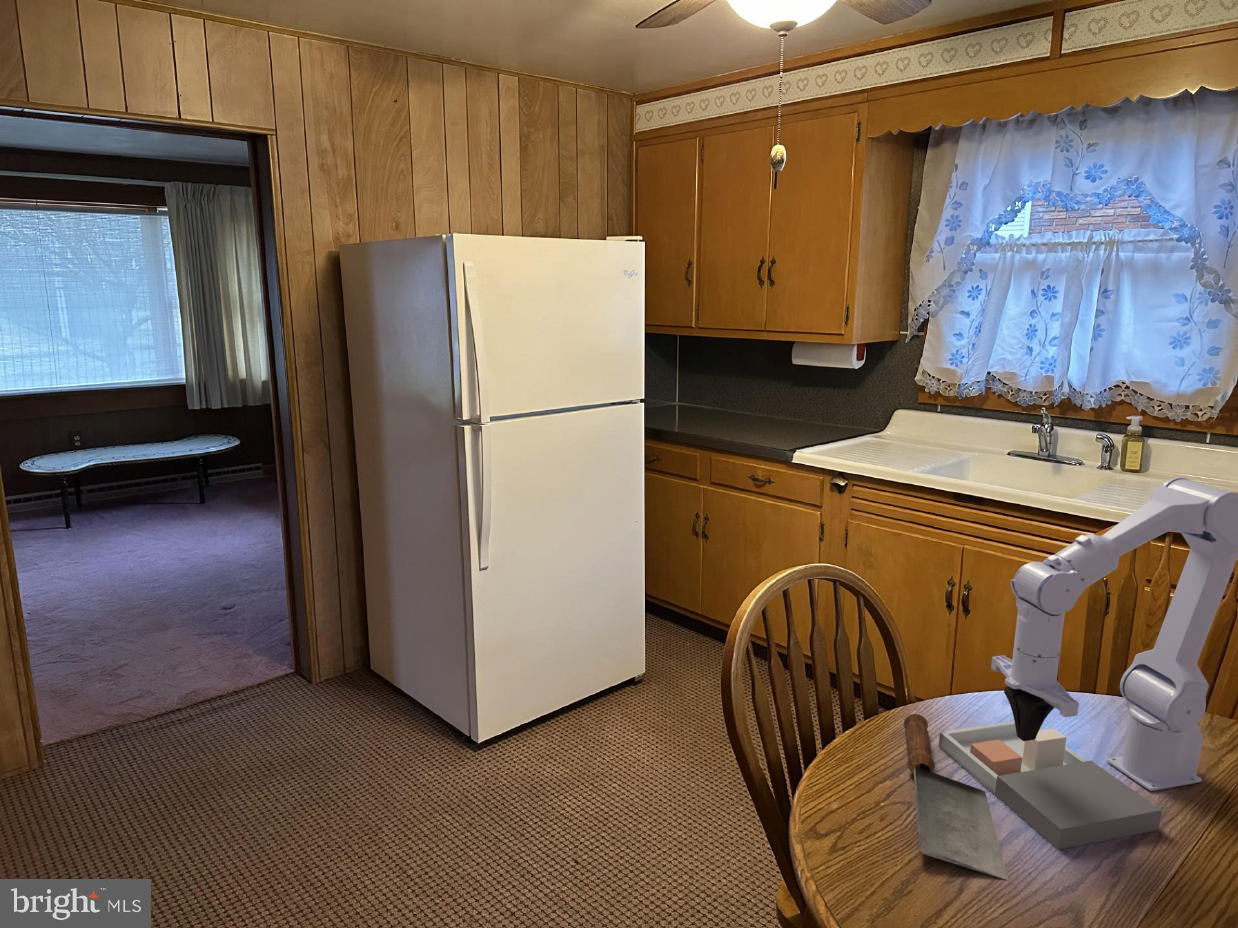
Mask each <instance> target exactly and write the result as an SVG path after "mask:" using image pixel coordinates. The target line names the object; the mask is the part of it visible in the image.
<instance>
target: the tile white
mask: <svg viewBox="0 0 1238 928" xmlns="http://www.w3.org/2000/svg"><path fill="white" fill-rule="evenodd" d="M1066 744H1067V736H1066V735H1064V734H1063V733H1061V732H1060V731H1058V730H1057V729H1056V728H1049V729H1042V730H1040V731H1039V732H1038V734H1037V736H1036V739H1035V740H1030V741H1025V744H1024V752H1023V760H1022V763H1023V764H1024V765H1026V766H1027V767H1028V768H1029V769H1031V770H1037V769H1043V768H1049V767H1055V766H1061V765H1063V760H1064V753H1065V746H1066Z"/></svg>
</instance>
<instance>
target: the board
mask: <svg viewBox="0 0 1238 928" xmlns="http://www.w3.org/2000/svg"><path fill="white" fill-rule="evenodd" d="M994 796H995V797H996V798H998V799H999V800H1000V801H1001V802H1002V803H1004V805H1006V806H1007V807H1008V808H1009V809H1010V810H1011V811H1013V813H1015V814H1016V815H1017V816H1018V817H1020V818H1021V819H1022V820H1023V821H1024V822H1026V823H1027V824H1028V825H1029V826H1030V827H1031V828H1032V829H1034V830H1035V831H1036V832H1037V833H1038V834H1040V835H1041V836H1042V837H1043V838H1044V839H1045V840H1046V841H1047V842H1049V843H1050V844H1051V845H1052V846H1053V847H1054V848H1055V849H1057V850H1063V849H1065V850H1066V849H1070V848H1073V847H1074V848H1075V847H1079V846H1084V845H1089V844H1094V843H1100V842H1105V841H1109V840H1115V839H1120V838H1125V837H1129V836H1135V835H1141V834H1145V833H1151V832H1156V831H1159V830H1160V825H1161V817H1162V812H1163V811H1162V809H1161V808H1160V807H1158V806H1157V805H1155V804H1154V803H1153V802H1151V801H1149V800H1148V799H1146V798H1145V797H1144V796H1142V795H1141V794H1140V793H1138V792H1137V791H1136V790H1134V789H1133V788H1131V787H1129V786H1128V785H1127V784H1126V783H1124V782H1122V781H1121V780H1120V779H1118V778H1117V777H1115V776H1114V775H1112V774H1111V773H1110V772H1108V771H1106V769H1104V768H1103V767H1101V766H1099V765H1098V764H1097V763H1095V762H1094V761H1092V760H1086V761H1085V762H1079V763H1073V764H1067V765H1061V766H1055V767H1049V768H1043V769H1037V770H1031V771H1025V772H1019V773H1013V774H1007V775H1001V776H997V781H996V790H995V795H994Z"/></svg>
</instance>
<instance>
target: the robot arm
mask: <svg viewBox="0 0 1238 928" xmlns="http://www.w3.org/2000/svg"><path fill="white" fill-rule="evenodd" d="M1167 532H1176V533H1180V534H1181V535H1182V537H1183V538H1184V541H1186V543H1187V545H1188V546H1189V548H1190V551H1189V553H1188V556H1187V559H1186V561H1185V564H1184V565H1183V569H1182V572H1181V574H1180V577H1179V580H1178V582H1177V585H1176V587H1175V588H1176V589H1174V590H1175V591H1174V593H1173V595H1172V598H1171V602H1170V603H1169V604H1170V605H1169V606H1168V609H1167V611H1166V614H1165V617H1164V619H1163V623H1162V625H1161V629H1159V630H1160V631H1159V633H1158V636H1157V639H1156V641H1155V644H1154V646H1153V648H1152V649H1149V650H1145V651H1143V652H1139V653H1137V654H1135V656H1134V659H1133V661H1132V663H1131V665H1130V666H1128V668H1127V669H1126V671H1124V673H1123V675H1122V676H1121V679H1120V683H1119V691H1120V694H1121V695H1122V697H1123V698H1124V699H1125V700H1126V706H1125V707H1126V708H1127V709H1128V710H1129V712H1128V717H1127V718H1128V719H1127V725H1126V730H1125V731H1126V732H1125V739H1124V745H1123V751H1122V755H1119V756H1113V757H1109V758H1107V759H1106V761H1107V763H1108V764H1110V765H1111V766H1112V767H1114V768H1116V769H1117V770H1118V771H1120V772H1121V773H1123V774H1125V775H1126V776H1127V777H1129V778H1130V779H1132V780H1133V781H1135V782H1136V783H1138V784H1139V785H1140V786H1142V787H1144V788H1145V789H1146V790H1148V791H1151V792H1153V791H1158V790H1159V791H1160V790H1164V789H1171V788H1176V787H1181V786H1187V785H1192V784H1199V783H1201V782H1202V779H1203V778H1202V777H1200V776H1199V775H1198V770H1199V764H1200V758H1201V753H1202V747H1203V741H1204V739H1203V734H1202V730H1201V728H1200V725H1199V723H1200V722H1201V721H1202V719H1204V716H1205V713H1206V709H1207V708H1206V707H1207V702H1206V699H1207V697H1206V696H1207V694H1208V690H1209V687H1210V684H1209V683H1208V681H1207V679H1206V678H1205V676H1204V674H1203V673H1202V671H1201V669H1200V667H1199V665H1198V662H1199V659H1200V657H1201V654H1202V651H1203V648H1204V647H1205V644H1206V641H1207V638H1208V636H1209V634H1210V630H1211V628H1212V626H1213V622H1214V621H1215V618H1216V615H1217V613H1218V610H1219V607H1220V604H1221V602H1222V599H1223V597H1224V594H1225V591H1226V589H1227V586H1228V584H1229V581H1230V578H1231V576H1232V573H1233V571H1234V568H1235V566H1236V563H1237V560H1238V492H1236V491H1230V490H1229V491H1228V490H1224V489H1221V488H1219V487H1214V486H1211V485H1207V484H1204V483H1200V482H1197V481H1193V480H1190V479H1188V478H1186V477H1182V476H1181V477H1180V476H1177V477H1173V478H1170V479H1168V480H1166V482H1164V483H1163V484H1162V485H1160V486H1158V487H1155V488H1154V489H1153V490H1152V493H1151V495H1150V499H1149V501H1148V502H1146V503H1145V504H1143V505H1142V506H1140V507H1139V508H1138V509H1137V510H1135V511H1134V512H1132V513H1131V514H1130V515H1128V516H1127V517H1126V518H1124V519H1122V520H1121V521H1120V522H1119V523H1117V524H1116V525H1115V526H1112V527H1111V528H1110V529H1109V530H1107V532H1105V533H1104V534H1102V535H1097V534H1092V533H1087V534H1086V535H1085V534H1080V535H1079V536H1077V537H1076V538H1075V539H1074V540H1075V541H1074V542H1072V543H1070V544H1069V545H1068V546H1066V547H1064V548H1062V549H1061V550H1059V551H1057V552H1056V553H1054V554H1052V555H1050V556H1048V557H1047V558H1046V559H1045V560H1043V561H1042V562H1041V561H1038V560H1037V561H1031V562H1028V563H1026V564H1024V565H1022V566H1021V567H1019V569H1017V571H1016V573H1015V575H1014V577H1013V579H1010V588H1011V592H1012V594H1013V595H1014V596H1015V598H1016V601H1015V602H1016V603H1015V607H1016V608H1017V613H1016V615H1017V616H1016V625H1015V632H1014V640H1013V641H1014V644H1013V651H1012V659H1011V658H1009V657H1007V656H1006V655H996V656H995V655H994V656H992V657H991V665H990V666H991V667H990V669H991V670H992V671H994V672H995V673H996V672H1000V673H1001V674H1003V675H1004V676H1005V677H1006V678H1005V680H1004V684H1005V685H1006V686H1005V687H1004V689H1003V692H1004V695H1005V696H1006V698H1007V700H1008V703H1009V706H1010V708H1011V712H1012V717H1013V721H1015V727H1016V733H1017V737H1018V738H1020V739H1021V740H1022V741H1030V740H1035V739H1036V736H1037V734H1038V732H1039V730H1040V729H1041V727H1042V725H1043V723H1044V721H1045V720H1046V719H1047V717H1048V716H1049V714H1050V713H1051V712H1052V711H1053V710H1054V709H1057V710H1058V711H1059V714H1060V715H1061V716H1063V717H1064V718H1071V717H1077V716H1078V713H1079V707H1080V706H1079V705H1080V702H1079V701H1078V700H1076V699H1075V698H1073V696H1071V695H1070V693H1068V691H1067V690H1066V689H1065V687H1063V685H1062V684H1060V682H1059V681H1058V680H1057V679H1058V672H1059V665H1060V664H1059V663H1060V657H1061V648H1062V640H1063V639H1062V638H1063V631H1064V623H1065V615H1066V612H1070V611H1071V610H1072V609H1073V608H1074V607H1075V605H1076V603H1077V601H1078V599H1079V597H1080V596H1081V595H1083V594H1084V592H1085V590H1086V589H1087V588H1088V587H1090V586H1092V585H1094V584H1095V583H1096V582H1098V581H1100V580H1101V579H1103V578H1104V577H1106V576H1107V575H1109V574H1111V573H1113V572H1114V571H1115V570H1117V568H1118V566H1119V561H1120V557H1122V556H1123V555H1125V554H1126V553H1129V552H1130V551H1133V550H1135V549H1137V548H1139V547H1140V546H1142V545H1144V544H1146V543H1149V542H1151V541H1152V540H1155V539H1157V538H1158V537H1160V536H1162V535H1163V534H1166V533H1167Z"/></svg>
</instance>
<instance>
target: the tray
mask: <svg viewBox="0 0 1238 928" xmlns="http://www.w3.org/2000/svg"><path fill="white" fill-rule="evenodd" d="M1040 730H1043V729H1042V728H1040ZM1040 730H1039V731H1040ZM993 740H1000V741H1002V742H1003V743H1004V744H1006V745H1007V746H1008V747H1010V748H1011V749H1012V750H1013V751H1015V752H1016V753H1017V754H1019V755H1020V756H1021V757H1022V760H1023V752H1024V744H1025V741H1022V740H1021V739H1020V738H1018V737H1017V733H1016V727H1015V721H1014V720H1010V721H1005V722H1004V721H1003V722H997V723H991V724H985V725H978V726H977V725H976V726H971V727H963V728H957V729H950V730H943V731H939V738H938V747H939V748H940V749H941V750H942V752H945V753H946V754H947V755H948V756H949V757H950V758H951V759H952V760H954V761H955V762H956V763H957V764H958V765H960V766H961V767H962V768H963V769H964V770H965V771H966V772H968V773H969V774H970V775H971V776H972V777H973V778H975V779H976V780H977V781H978V782H979V783H980V784H981V785H982V786H984V787H985V788H986V789H987V790H988V791H990V793H992V795H994V796H995V790H996V781H997V776H998V775H997V774H996V773H994V772H993V771H992V770H991V769H990V768H988V767H987V766H986V765H985V764H984V763H982V762H981V761H980V760H979V759H977V758H976V757H975V756H974V755H973V754H971V753H970V747H971V744H973V743H980V742H986V741H993ZM1085 761H1087V760H1086V759H1085V758H1083V757H1082V756H1080V755H1079V754H1077V753H1076V752H1074V751H1073V750H1072V749H1070V748H1069V747H1067V746H1066V745H1065V753H1064V760H1063V765H1067V764H1073V763H1079V762H1085ZM1025 771H1031V769H1029V768H1028V767H1027V766H1026V765H1024V764H1023V763H1022V765H1021V772H1025Z"/></svg>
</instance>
